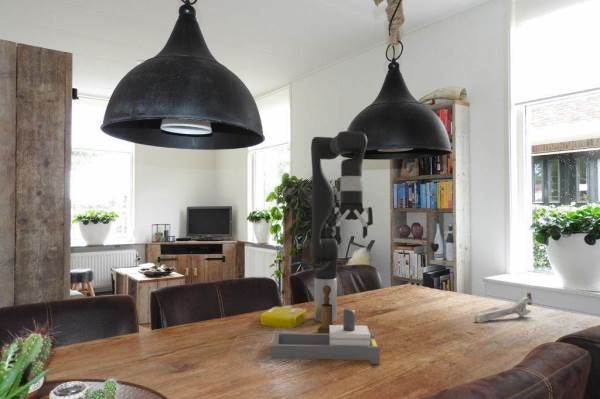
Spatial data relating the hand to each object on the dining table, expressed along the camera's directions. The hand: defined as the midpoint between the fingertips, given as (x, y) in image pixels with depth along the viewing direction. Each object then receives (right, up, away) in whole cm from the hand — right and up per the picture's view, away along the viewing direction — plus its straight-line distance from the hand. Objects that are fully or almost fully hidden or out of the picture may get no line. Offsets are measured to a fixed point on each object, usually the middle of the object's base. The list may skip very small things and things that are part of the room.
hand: (351, 237), depth 141 cm
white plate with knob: (-2, -35, -11) cm, 37 cm away
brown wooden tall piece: (-8, -36, +9) cm, 38 cm away
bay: (-10, -36, -11) cm, 39 cm away
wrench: (+68, -37, +32) cm, 84 cm away
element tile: (-24, -37, +27) cm, 52 cm away
